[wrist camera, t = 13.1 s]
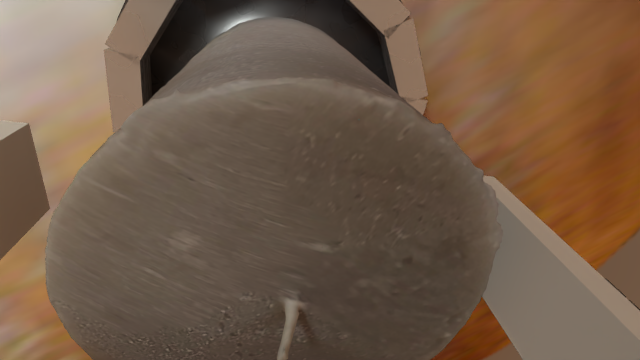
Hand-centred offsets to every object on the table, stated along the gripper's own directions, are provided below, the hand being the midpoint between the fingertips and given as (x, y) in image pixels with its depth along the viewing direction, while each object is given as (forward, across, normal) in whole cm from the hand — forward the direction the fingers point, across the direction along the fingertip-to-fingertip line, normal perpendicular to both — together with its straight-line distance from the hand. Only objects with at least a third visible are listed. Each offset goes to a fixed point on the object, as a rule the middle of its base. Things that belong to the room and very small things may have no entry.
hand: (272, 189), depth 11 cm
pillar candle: (+10, 0, 0) cm, 10 cm away
